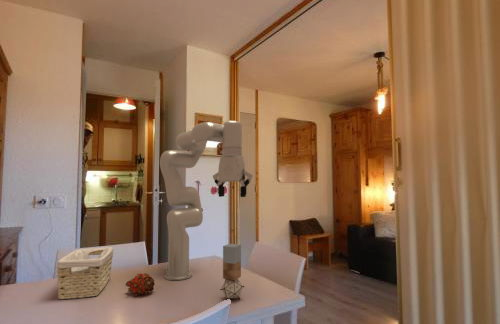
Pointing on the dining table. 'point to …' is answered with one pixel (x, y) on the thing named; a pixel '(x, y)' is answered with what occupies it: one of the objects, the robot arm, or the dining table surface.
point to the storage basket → (84, 272)
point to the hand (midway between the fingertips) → (232, 196)
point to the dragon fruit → (141, 284)
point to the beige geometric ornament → (232, 288)
